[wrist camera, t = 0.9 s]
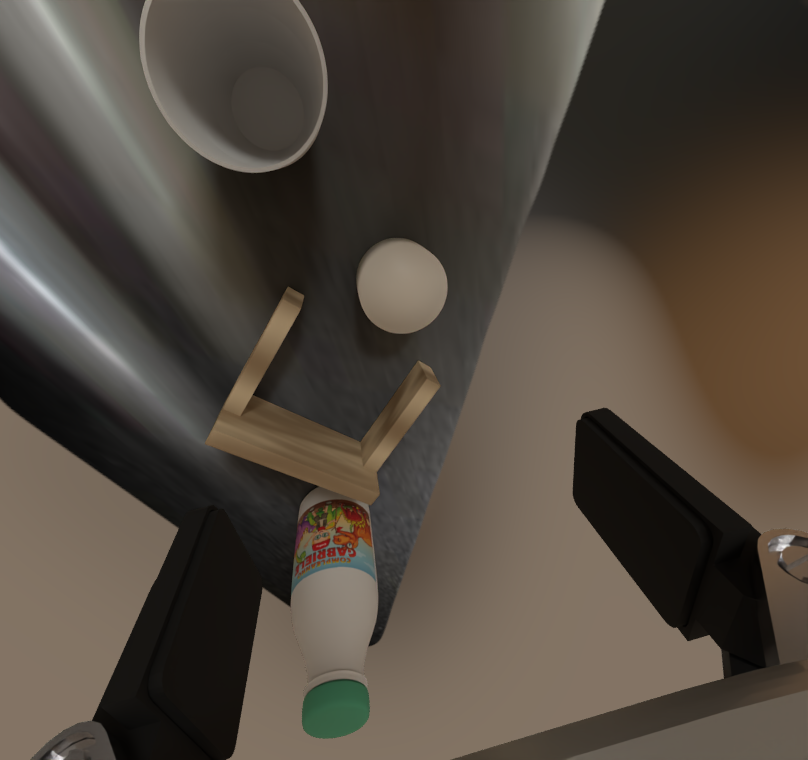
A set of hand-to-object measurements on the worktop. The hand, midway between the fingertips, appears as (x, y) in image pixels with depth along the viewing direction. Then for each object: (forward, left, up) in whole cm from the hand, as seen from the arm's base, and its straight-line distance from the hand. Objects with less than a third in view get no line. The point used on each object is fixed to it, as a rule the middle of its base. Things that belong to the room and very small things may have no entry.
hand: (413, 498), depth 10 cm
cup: (-7, -11, -26) cm, 29 cm away
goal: (+9, +3, -26) cm, 27 cm away
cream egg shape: (-2, +3, -26) cm, 26 cm away
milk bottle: (+23, +11, -26) cm, 36 cm away
